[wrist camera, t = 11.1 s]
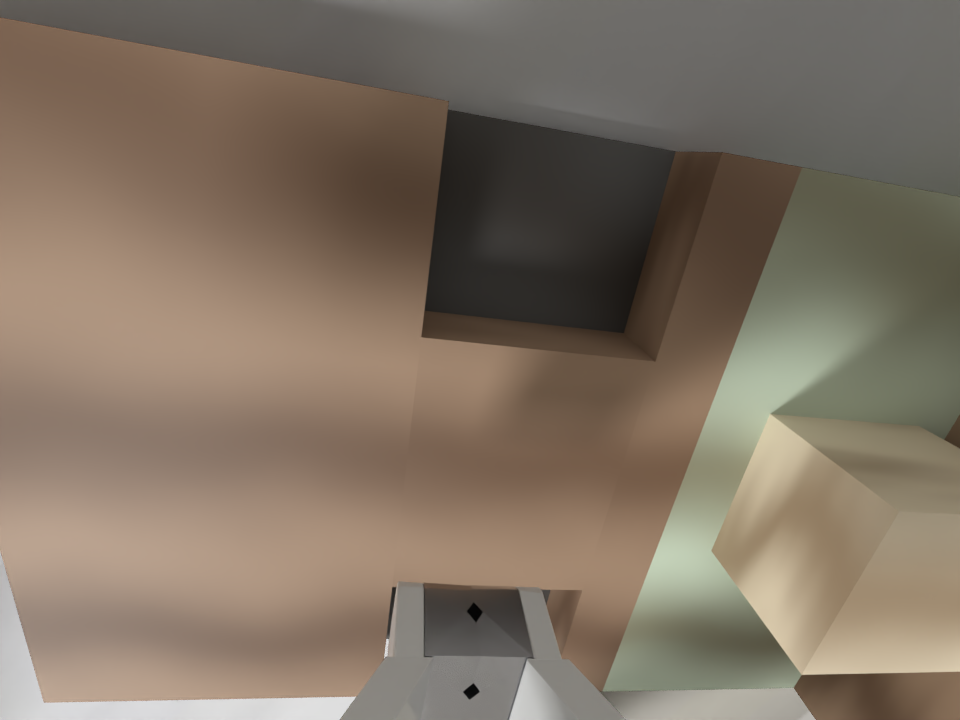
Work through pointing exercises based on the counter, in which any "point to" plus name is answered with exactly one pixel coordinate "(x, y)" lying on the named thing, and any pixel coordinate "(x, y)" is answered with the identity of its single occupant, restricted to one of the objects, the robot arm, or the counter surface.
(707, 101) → the counter surface
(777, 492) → the block
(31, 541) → the board
